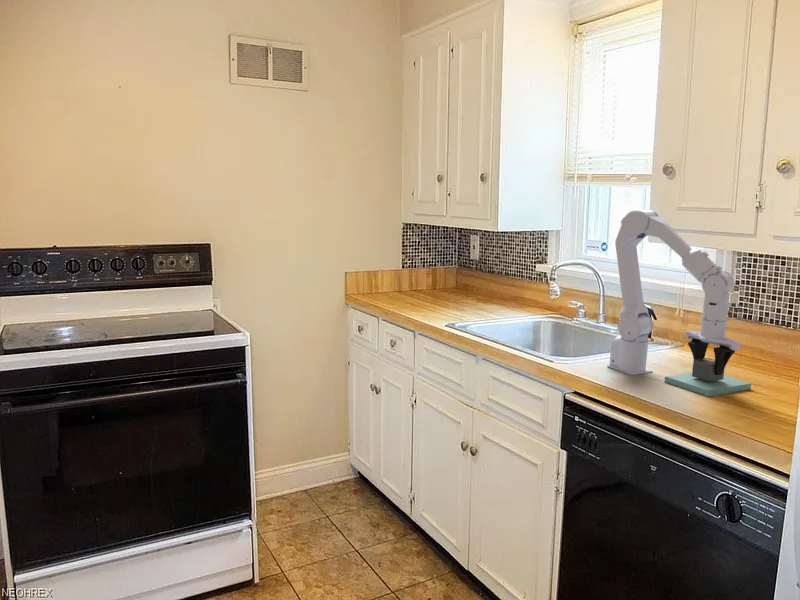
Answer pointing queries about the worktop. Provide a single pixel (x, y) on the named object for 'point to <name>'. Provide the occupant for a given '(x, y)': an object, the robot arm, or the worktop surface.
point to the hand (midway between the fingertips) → (708, 371)
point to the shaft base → (707, 384)
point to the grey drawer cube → (705, 370)
